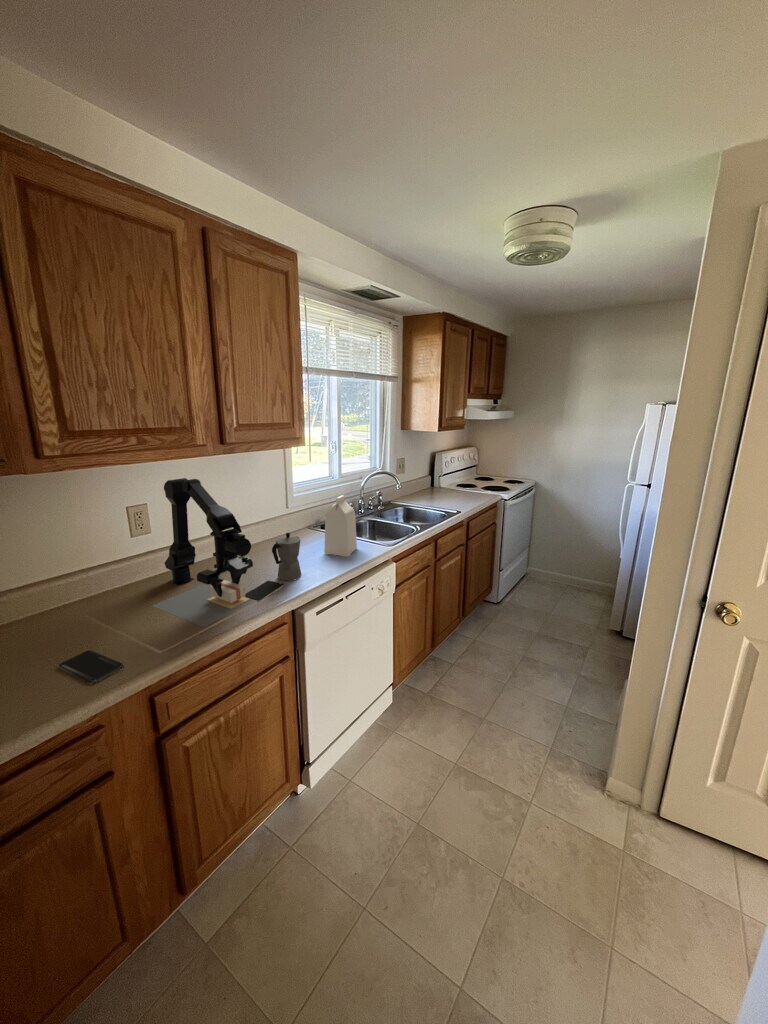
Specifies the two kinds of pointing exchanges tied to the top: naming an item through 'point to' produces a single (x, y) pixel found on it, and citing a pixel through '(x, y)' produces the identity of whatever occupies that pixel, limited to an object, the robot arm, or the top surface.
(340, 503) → the milk
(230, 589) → the card box
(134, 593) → the top surface
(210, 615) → the mat
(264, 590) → the smartphone
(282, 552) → the coffeepot
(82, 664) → the phone
